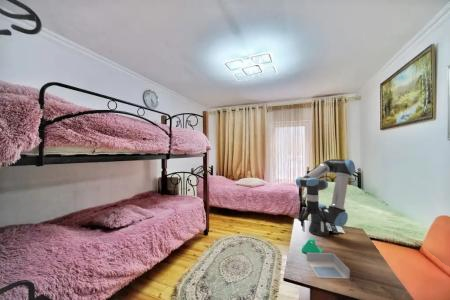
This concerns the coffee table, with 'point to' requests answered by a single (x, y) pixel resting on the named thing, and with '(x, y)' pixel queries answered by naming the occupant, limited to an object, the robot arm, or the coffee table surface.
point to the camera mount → (311, 247)
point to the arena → (328, 265)
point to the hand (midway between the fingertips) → (312, 231)
